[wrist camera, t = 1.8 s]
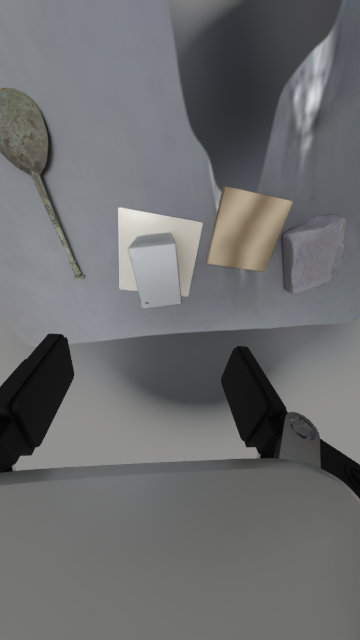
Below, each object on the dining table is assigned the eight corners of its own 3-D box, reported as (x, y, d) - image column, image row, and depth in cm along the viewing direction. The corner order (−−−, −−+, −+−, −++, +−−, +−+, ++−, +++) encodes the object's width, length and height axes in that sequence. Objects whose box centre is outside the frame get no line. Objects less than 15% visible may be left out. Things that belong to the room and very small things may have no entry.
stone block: (325, 208, 31) (275, 233, 31) (355, 207, 27) (299, 236, 27) (320, 269, 38) (279, 291, 38) (344, 276, 34) (298, 300, 34)
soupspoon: (40, 88, 21) (-16, 94, 21) (19, 68, 18) (-46, 75, 18) (99, 274, 32) (62, 278, 32) (92, 280, 29) (52, 284, 29)
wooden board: (289, 201, 28) (293, 201, 28) (261, 270, 34) (264, 271, 33) (223, 186, 27) (225, 186, 26) (205, 262, 32) (207, 263, 32)
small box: (176, 278, 33) (182, 305, 24) (146, 282, 33) (141, 310, 24) (171, 230, 29) (177, 242, 20) (136, 234, 29) (126, 247, 20)
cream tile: (202, 222, 29) (203, 222, 29) (187, 296, 36) (188, 296, 35) (118, 207, 27) (118, 207, 27) (119, 288, 33) (119, 289, 33)
